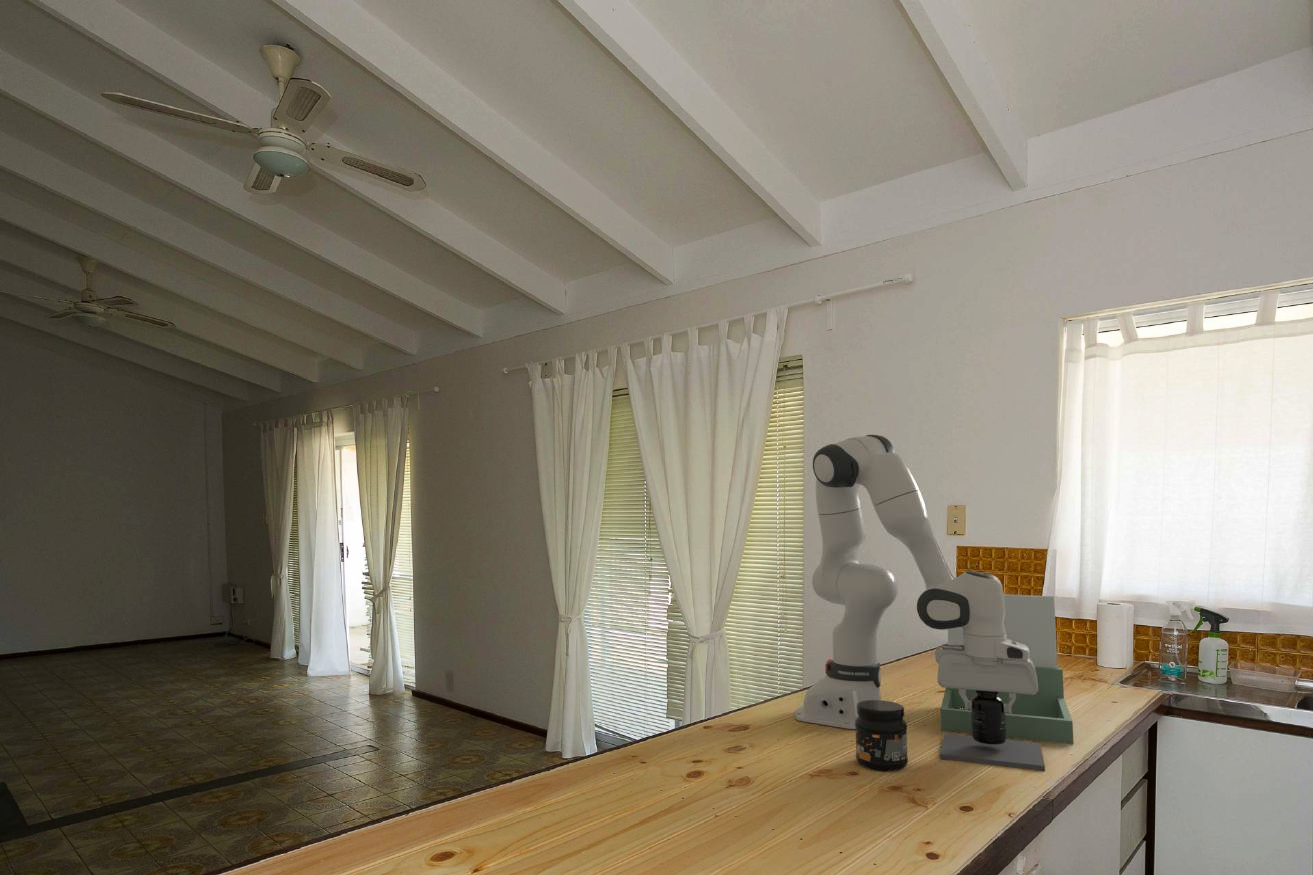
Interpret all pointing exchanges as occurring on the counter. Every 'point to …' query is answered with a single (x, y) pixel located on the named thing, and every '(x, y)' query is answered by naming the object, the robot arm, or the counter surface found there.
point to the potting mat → (993, 752)
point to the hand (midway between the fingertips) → (988, 711)
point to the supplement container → (881, 735)
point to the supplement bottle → (988, 718)
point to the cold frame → (1037, 630)
